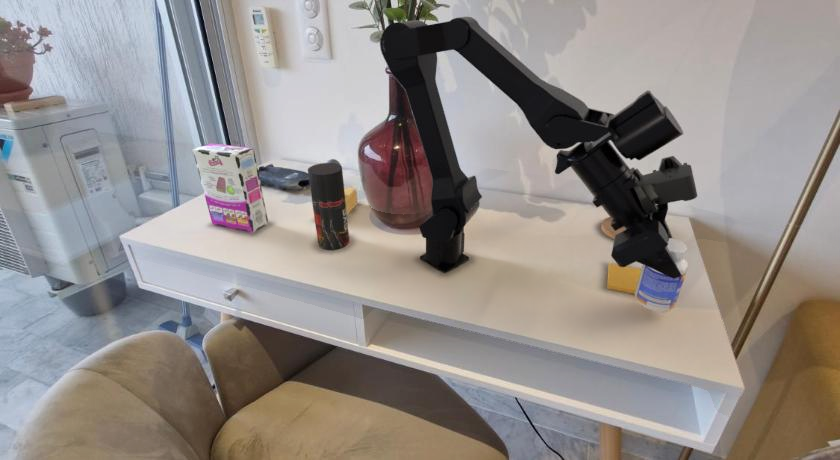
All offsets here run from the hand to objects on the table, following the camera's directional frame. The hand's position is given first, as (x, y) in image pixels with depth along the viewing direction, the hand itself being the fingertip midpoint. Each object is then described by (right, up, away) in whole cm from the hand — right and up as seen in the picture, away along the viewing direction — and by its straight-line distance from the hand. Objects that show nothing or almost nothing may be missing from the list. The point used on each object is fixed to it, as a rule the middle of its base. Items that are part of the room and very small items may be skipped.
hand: (676, 266), depth 60 cm
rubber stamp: (-54, +9, +35) cm, 65 cm away
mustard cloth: (-1, -3, +11) cm, 12 cm away
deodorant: (-52, +2, +23) cm, 57 cm away
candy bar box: (-73, +6, +31) cm, 79 cm away
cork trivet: (+6, +5, +26) cm, 27 cm away
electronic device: (-70, +16, +50) cm, 87 cm away
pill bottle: (-1, -6, +4) cm, 7 cm away
